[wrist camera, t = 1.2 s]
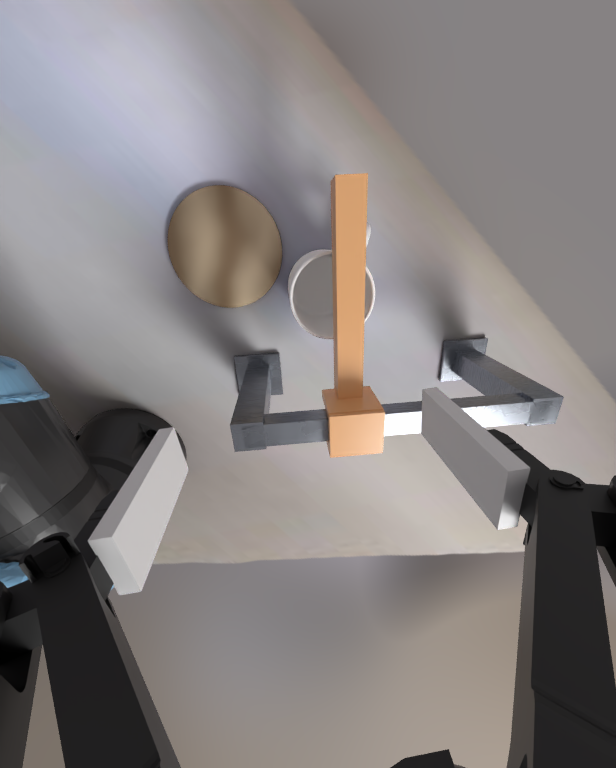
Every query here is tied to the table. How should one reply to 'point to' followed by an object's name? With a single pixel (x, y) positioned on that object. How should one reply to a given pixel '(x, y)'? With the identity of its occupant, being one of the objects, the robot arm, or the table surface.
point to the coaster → (224, 246)
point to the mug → (320, 292)
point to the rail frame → (459, 362)
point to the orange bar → (350, 327)
